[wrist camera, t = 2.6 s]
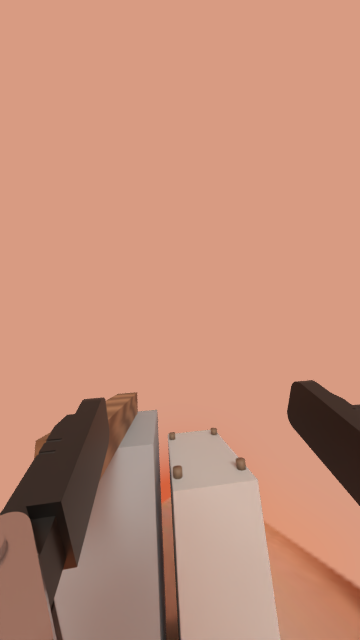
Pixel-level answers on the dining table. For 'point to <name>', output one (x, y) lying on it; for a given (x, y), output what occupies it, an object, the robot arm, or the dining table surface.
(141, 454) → the stand
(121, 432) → the batten
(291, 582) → the dining table surface
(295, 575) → the dining table surface
